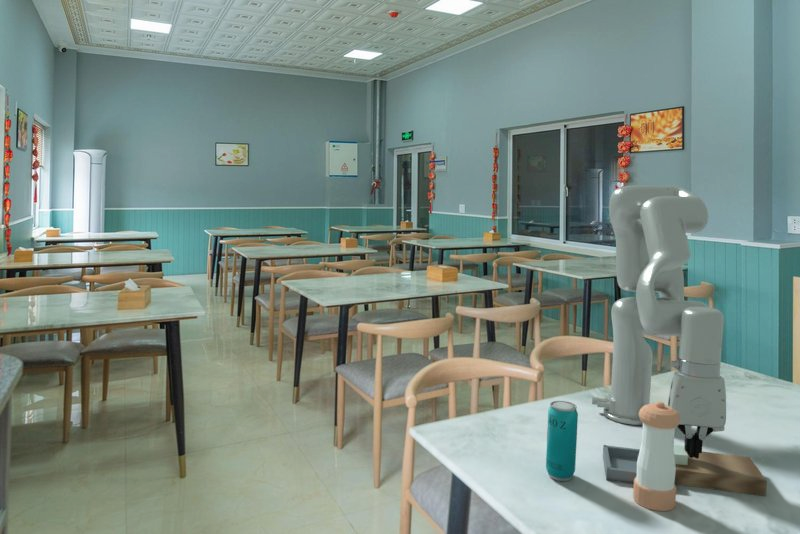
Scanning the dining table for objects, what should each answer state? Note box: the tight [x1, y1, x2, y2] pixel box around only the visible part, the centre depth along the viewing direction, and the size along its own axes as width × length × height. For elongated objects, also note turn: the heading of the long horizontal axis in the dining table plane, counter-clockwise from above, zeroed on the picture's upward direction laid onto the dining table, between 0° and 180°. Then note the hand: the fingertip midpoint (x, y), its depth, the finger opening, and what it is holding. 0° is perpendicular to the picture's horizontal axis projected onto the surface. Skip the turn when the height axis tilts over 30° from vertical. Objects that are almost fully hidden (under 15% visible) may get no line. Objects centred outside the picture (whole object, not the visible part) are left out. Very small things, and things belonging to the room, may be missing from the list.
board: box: [675, 450, 768, 497], centre depth 118 cm, size 16×11×3 cm
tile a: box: [674, 444, 688, 465], centre depth 119 cm, size 5×5×2 cm
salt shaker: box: [632, 401, 680, 512], centre depth 107 cm, size 7×7×19 cm
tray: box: [602, 444, 676, 485], centre depth 120 cm, size 13×12×2 cm
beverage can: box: [545, 400, 579, 482], centre depth 117 cm, size 6×6×15 cm
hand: (692, 455), depth 119 cm, fingers closed
